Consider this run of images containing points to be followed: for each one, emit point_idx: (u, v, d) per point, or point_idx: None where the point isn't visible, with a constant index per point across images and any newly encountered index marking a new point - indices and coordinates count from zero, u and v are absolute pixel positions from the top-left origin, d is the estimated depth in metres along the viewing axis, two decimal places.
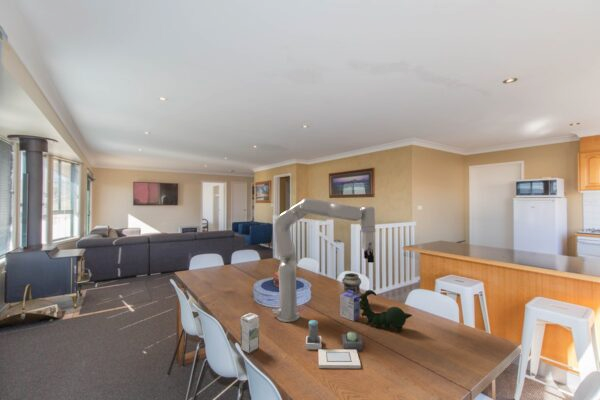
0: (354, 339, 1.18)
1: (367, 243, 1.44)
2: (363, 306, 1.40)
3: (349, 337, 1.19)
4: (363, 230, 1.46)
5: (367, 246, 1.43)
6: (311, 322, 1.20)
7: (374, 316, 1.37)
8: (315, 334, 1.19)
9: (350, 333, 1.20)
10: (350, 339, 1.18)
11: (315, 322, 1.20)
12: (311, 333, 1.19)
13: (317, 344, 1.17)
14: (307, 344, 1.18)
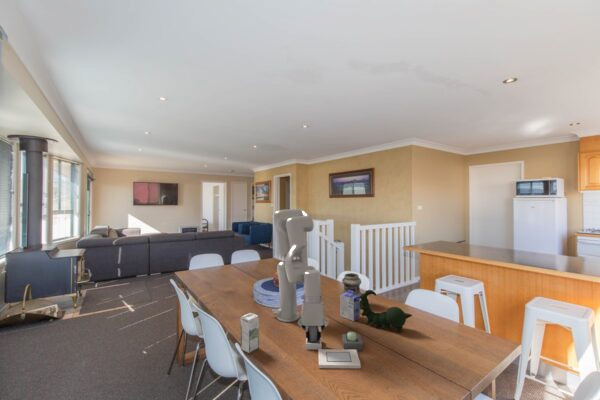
0: (354, 339, 1.18)
1: None
2: (363, 306, 1.40)
3: (349, 337, 1.19)
4: (317, 301, 1.18)
5: (324, 319, 1.19)
6: None
7: (374, 316, 1.37)
8: (315, 334, 1.19)
9: (350, 333, 1.20)
10: (350, 339, 1.18)
11: None
12: (311, 333, 1.19)
13: (317, 344, 1.17)
14: (307, 344, 1.18)
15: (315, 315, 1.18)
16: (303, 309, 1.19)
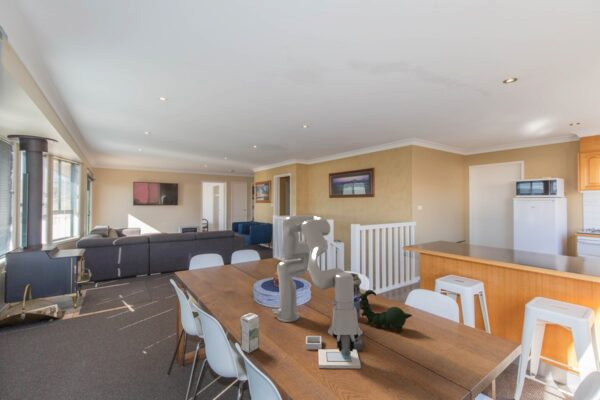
0: None
1: None
2: (363, 306, 1.40)
3: None
4: (351, 308, 1.06)
5: (358, 327, 1.07)
6: None
7: (374, 316, 1.37)
8: (348, 344, 1.07)
9: None
10: None
11: None
12: (343, 343, 1.07)
13: (317, 344, 1.17)
14: (307, 344, 1.18)
15: (348, 323, 1.06)
16: (335, 316, 1.07)
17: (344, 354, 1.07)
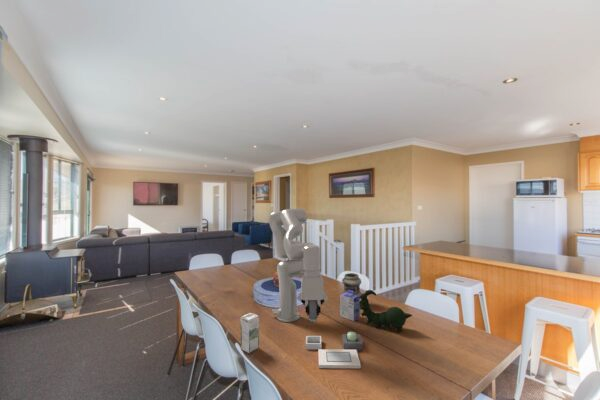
0: (354, 339, 1.18)
1: (323, 290, 1.19)
2: (363, 306, 1.40)
3: (349, 337, 1.19)
4: (317, 275, 1.18)
5: (324, 293, 1.19)
6: None
7: (374, 316, 1.37)
8: (315, 308, 1.19)
9: (350, 333, 1.20)
10: (350, 339, 1.18)
11: None
12: (311, 307, 1.19)
13: (317, 344, 1.17)
14: (307, 344, 1.18)
15: (314, 289, 1.18)
16: (302, 283, 1.19)
17: (311, 317, 1.19)
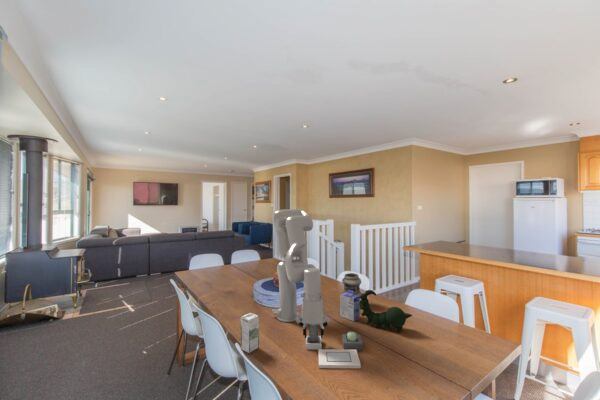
0: (354, 339, 1.18)
1: (324, 313, 1.19)
2: (363, 306, 1.40)
3: (349, 337, 1.19)
4: (317, 299, 1.18)
5: (324, 317, 1.19)
6: None
7: (374, 316, 1.37)
8: (315, 334, 1.19)
9: (350, 333, 1.20)
10: (350, 339, 1.18)
11: None
12: (311, 333, 1.19)
13: (317, 344, 1.17)
14: (307, 344, 1.18)
15: (315, 313, 1.18)
16: (303, 307, 1.19)
17: None
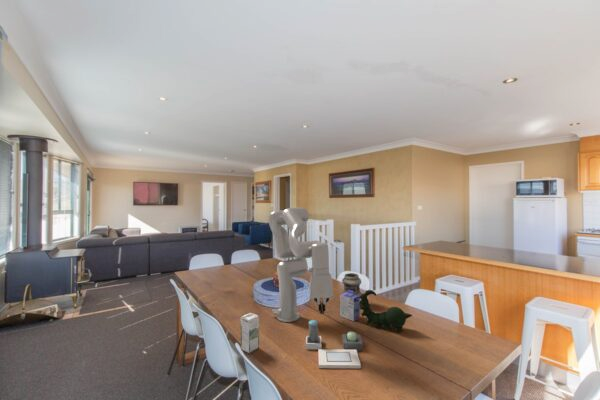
0: (354, 339, 1.18)
1: (332, 287, 1.19)
2: (363, 306, 1.40)
3: (349, 337, 1.19)
4: (325, 273, 1.18)
5: (332, 291, 1.19)
6: (311, 322, 1.20)
7: (374, 316, 1.37)
8: (315, 334, 1.19)
9: (350, 333, 1.20)
10: (350, 339, 1.18)
11: (315, 322, 1.20)
12: (311, 333, 1.19)
13: (317, 344, 1.17)
14: (307, 344, 1.18)
15: (323, 287, 1.18)
16: (311, 281, 1.19)
17: None
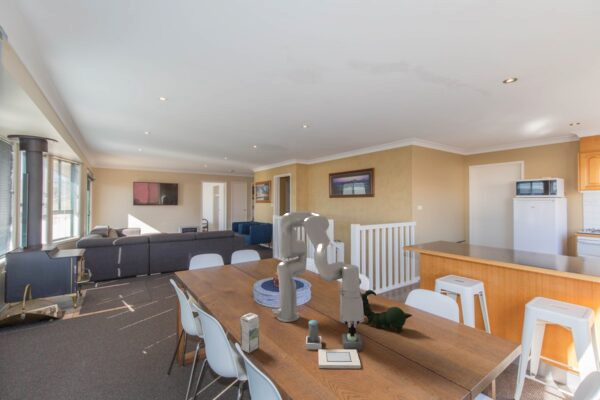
0: (354, 340, 1.18)
1: None
2: (363, 306, 1.40)
3: (349, 338, 1.19)
4: (357, 296, 1.17)
5: (363, 314, 1.18)
6: (311, 322, 1.20)
7: (374, 316, 1.37)
8: (315, 334, 1.19)
9: None
10: (350, 340, 1.18)
11: (315, 322, 1.20)
12: (311, 333, 1.19)
13: (317, 344, 1.17)
14: (307, 344, 1.18)
15: (354, 310, 1.17)
16: (342, 304, 1.18)
17: None
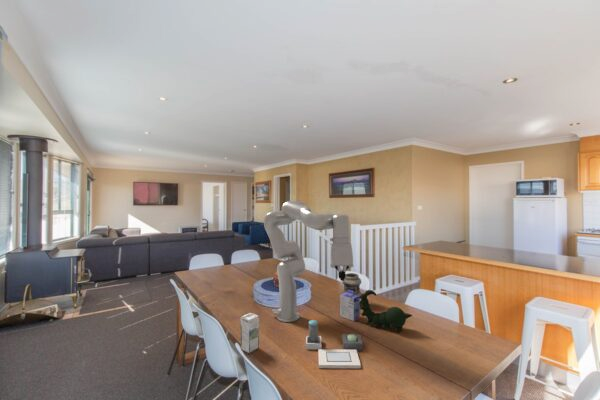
0: None
1: (352, 256, 1.26)
2: (363, 306, 1.40)
3: (349, 340, 1.19)
4: (346, 242, 1.24)
5: None
6: (311, 322, 1.20)
7: (374, 316, 1.37)
8: (315, 334, 1.19)
9: (350, 336, 1.20)
10: None
11: (315, 322, 1.20)
12: (311, 333, 1.19)
13: (317, 344, 1.17)
14: (307, 344, 1.18)
15: (344, 255, 1.25)
16: (333, 250, 1.25)
17: None
